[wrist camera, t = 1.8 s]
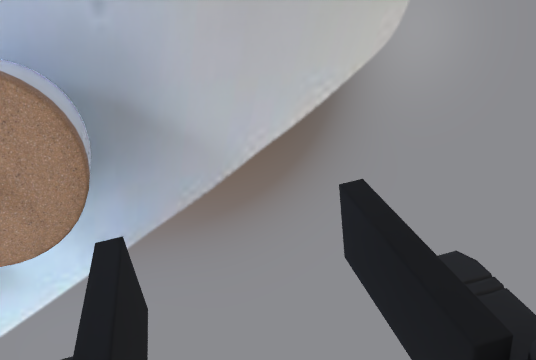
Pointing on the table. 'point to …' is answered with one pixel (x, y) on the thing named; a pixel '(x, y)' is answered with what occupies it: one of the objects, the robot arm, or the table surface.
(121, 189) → the table surface
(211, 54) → the table surface
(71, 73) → the table surface
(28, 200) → the trinket box
